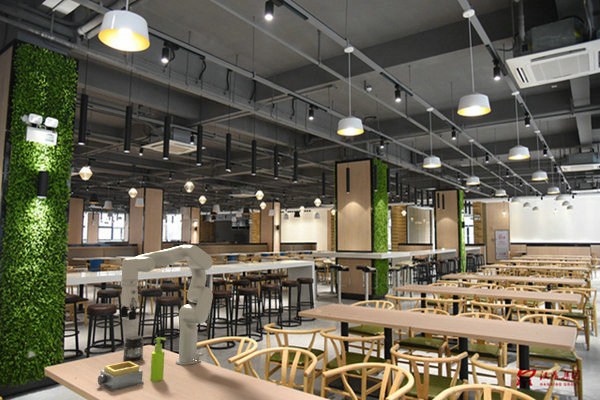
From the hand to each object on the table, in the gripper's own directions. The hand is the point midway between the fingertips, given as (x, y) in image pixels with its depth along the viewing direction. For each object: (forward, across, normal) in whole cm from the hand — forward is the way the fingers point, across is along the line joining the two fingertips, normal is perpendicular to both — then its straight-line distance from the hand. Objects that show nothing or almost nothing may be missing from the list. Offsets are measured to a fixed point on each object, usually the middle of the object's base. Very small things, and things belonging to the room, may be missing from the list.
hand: (128, 318), depth 203 cm
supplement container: (+30, +33, -18) cm, 48 cm away
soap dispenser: (+30, -10, -12) cm, 34 cm away
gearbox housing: (+30, -3, +3) cm, 30 cm away
